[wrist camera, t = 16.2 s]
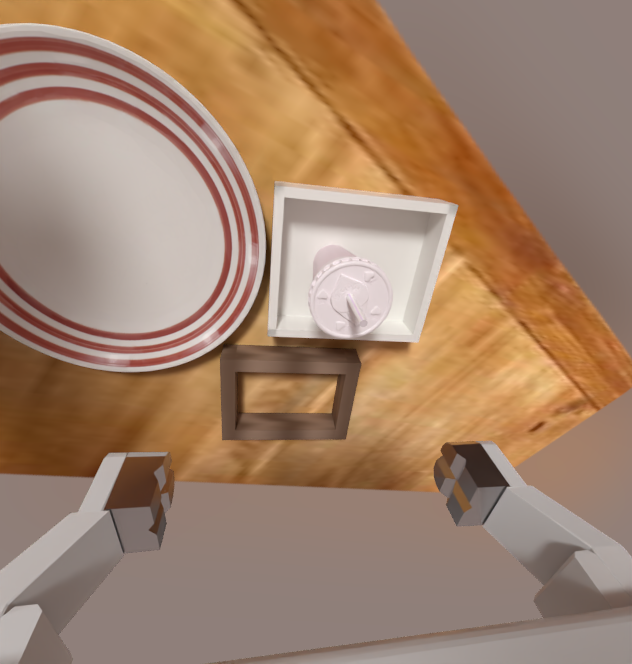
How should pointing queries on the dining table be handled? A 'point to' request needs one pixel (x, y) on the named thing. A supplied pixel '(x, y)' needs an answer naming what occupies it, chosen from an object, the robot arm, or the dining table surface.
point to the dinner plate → (117, 208)
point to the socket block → (287, 362)
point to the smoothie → (348, 293)
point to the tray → (356, 252)
